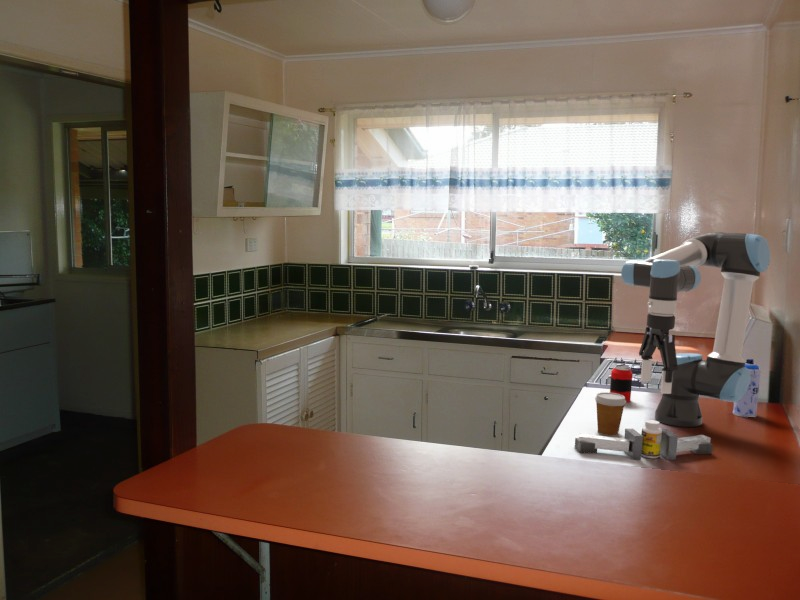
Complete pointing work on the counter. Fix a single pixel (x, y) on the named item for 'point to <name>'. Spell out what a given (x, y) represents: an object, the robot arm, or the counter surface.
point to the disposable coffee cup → (609, 412)
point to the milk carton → (749, 393)
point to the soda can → (621, 382)
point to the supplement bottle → (651, 439)
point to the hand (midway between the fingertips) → (655, 387)
